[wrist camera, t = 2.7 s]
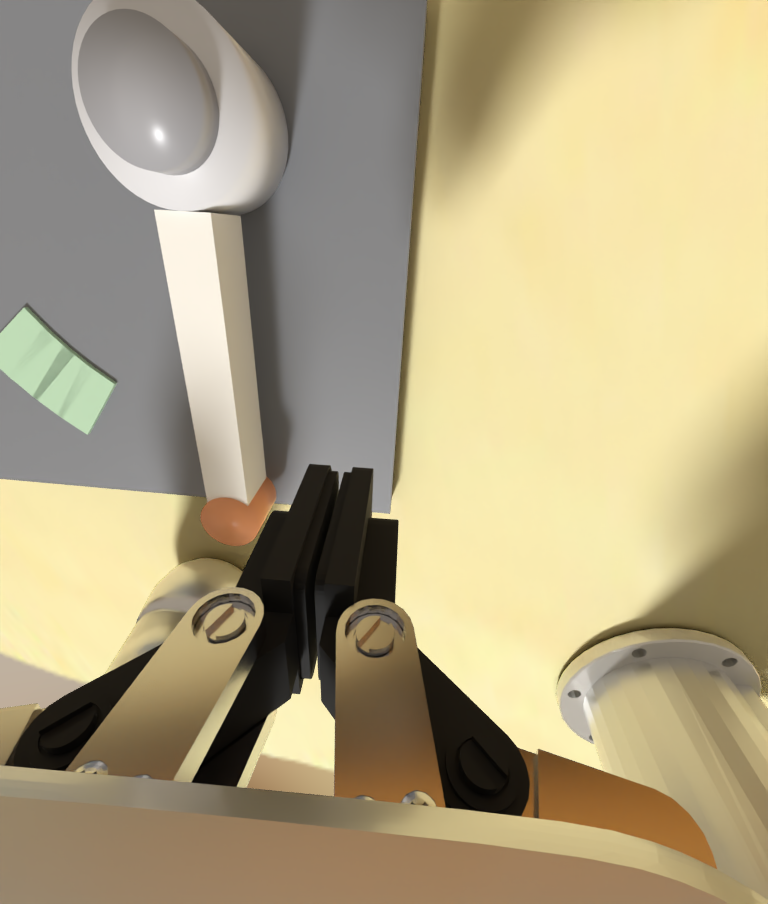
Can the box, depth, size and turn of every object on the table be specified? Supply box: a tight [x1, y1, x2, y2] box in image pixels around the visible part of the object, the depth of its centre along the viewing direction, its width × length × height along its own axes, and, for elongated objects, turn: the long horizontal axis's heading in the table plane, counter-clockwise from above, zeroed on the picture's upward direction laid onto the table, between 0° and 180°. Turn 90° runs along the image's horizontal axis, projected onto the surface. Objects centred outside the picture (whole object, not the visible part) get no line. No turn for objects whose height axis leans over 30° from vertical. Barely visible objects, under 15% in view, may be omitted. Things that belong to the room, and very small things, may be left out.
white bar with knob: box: [72, 0, 288, 546], centre depth 16 cm, size 5×18×5 cm, turn 177°
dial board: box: [0, 0, 427, 514], centre depth 18 cm, size 22×20×2 cm
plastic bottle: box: [105, 558, 243, 674], centre depth 19 cm, size 6×7×20 cm
